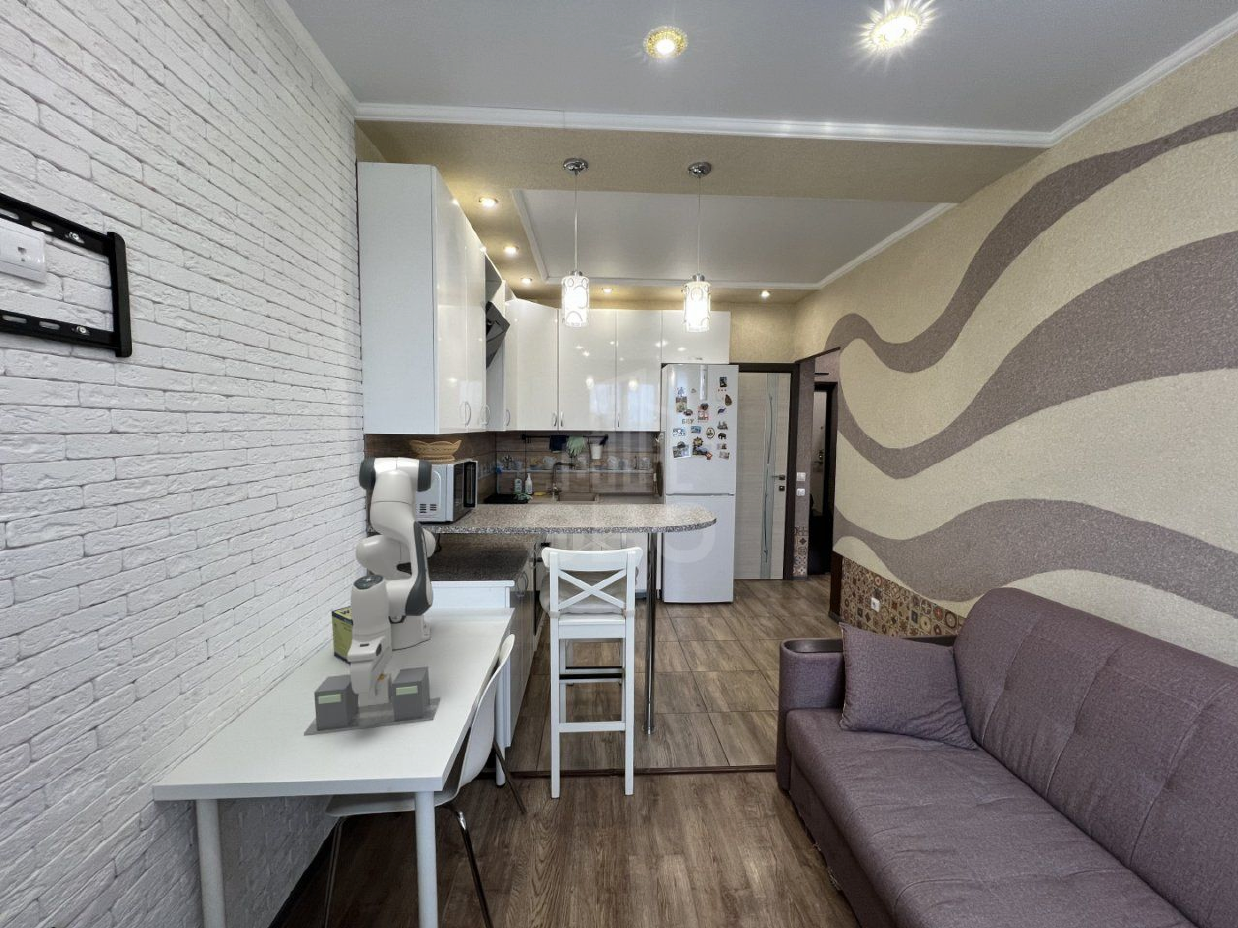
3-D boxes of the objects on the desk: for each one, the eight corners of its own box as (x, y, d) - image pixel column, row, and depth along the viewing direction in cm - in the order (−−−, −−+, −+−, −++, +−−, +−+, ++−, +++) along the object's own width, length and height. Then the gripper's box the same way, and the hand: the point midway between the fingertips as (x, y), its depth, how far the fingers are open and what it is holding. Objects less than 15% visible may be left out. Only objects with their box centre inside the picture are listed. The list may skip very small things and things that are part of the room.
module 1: (330, 713, 129) (327, 676, 128) (358, 710, 130) (356, 673, 129) (316, 732, 120) (313, 693, 120) (346, 729, 122) (344, 689, 121)
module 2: (402, 705, 132) (400, 669, 131) (430, 702, 133) (428, 666, 132) (393, 723, 123) (391, 684, 123) (422, 719, 125) (420, 681, 124)
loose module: (364, 698, 128) (362, 675, 127) (392, 695, 129) (391, 672, 129) (359, 705, 124) (357, 682, 124) (388, 702, 126) (387, 678, 125)
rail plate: (321, 712, 129) (321, 710, 129) (440, 699, 134) (440, 697, 134) (303, 735, 120) (303, 732, 120) (432, 719, 124) (432, 717, 124)
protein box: (355, 668, 155) (352, 619, 154) (333, 656, 164) (330, 610, 163) (387, 655, 163) (384, 610, 162) (364, 644, 172) (362, 601, 172)
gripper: (372, 626, 135) (375, 675, 136) (344, 658, 115) (347, 715, 116) (396, 624, 137) (399, 672, 137) (372, 655, 116) (376, 712, 117)
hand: (375, 692), depth 127 cm, fingers closed on loose module, 3 cm apart
